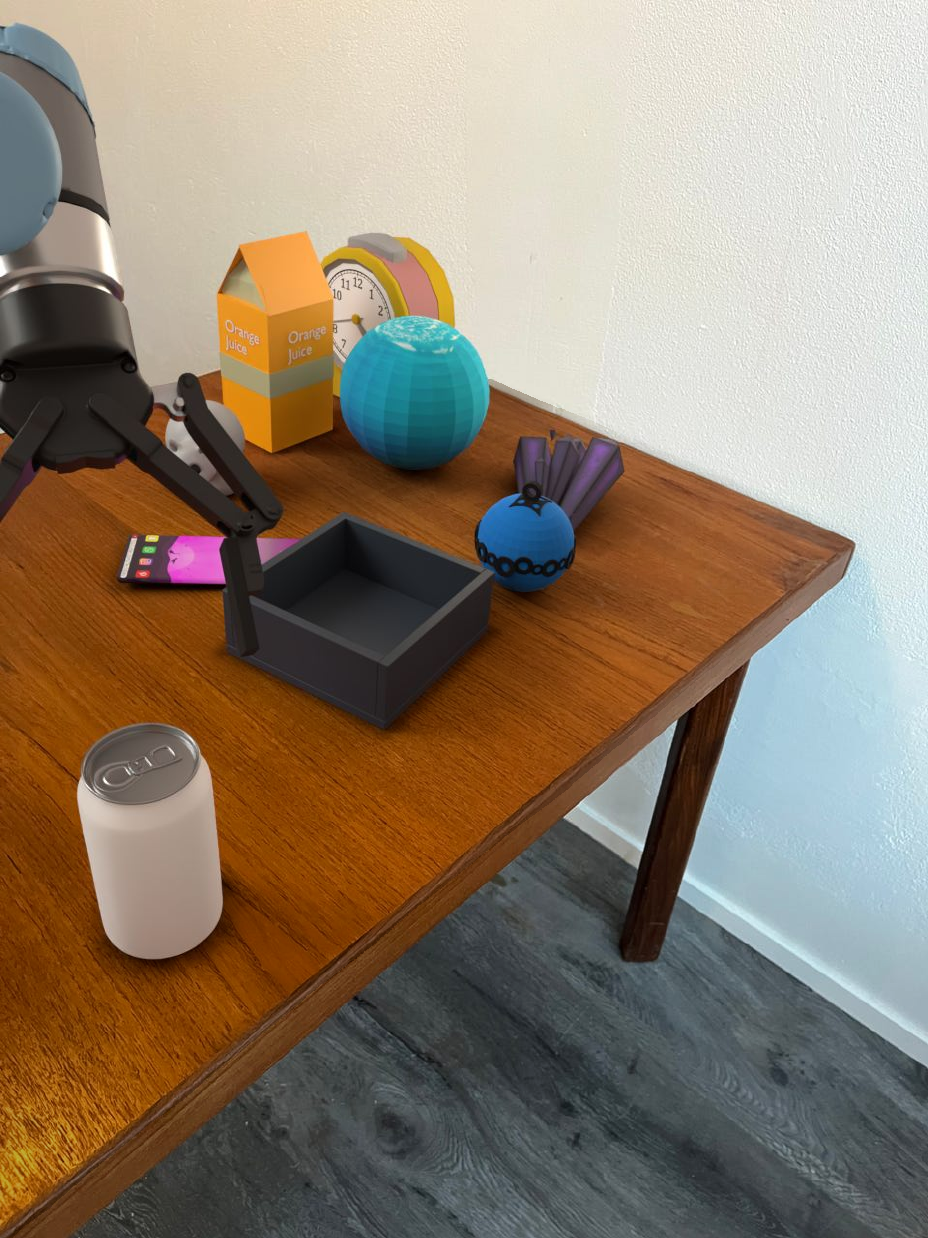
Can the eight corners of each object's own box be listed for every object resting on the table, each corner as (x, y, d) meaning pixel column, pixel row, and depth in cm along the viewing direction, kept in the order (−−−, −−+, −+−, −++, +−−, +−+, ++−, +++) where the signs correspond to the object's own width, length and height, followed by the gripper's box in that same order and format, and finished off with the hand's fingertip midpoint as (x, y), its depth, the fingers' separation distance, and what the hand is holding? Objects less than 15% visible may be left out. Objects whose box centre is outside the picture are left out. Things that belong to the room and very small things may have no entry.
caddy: (226, 652, 74) (221, 589, 71) (342, 569, 84) (343, 511, 81) (384, 730, 68) (387, 666, 65) (487, 631, 79) (495, 571, 76)
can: (84, 903, 55) (49, 749, 48) (190, 851, 59) (172, 700, 51) (135, 986, 51) (105, 831, 44) (245, 924, 55) (233, 772, 48)
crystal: (607, 502, 85) (638, 399, 100) (479, 487, 88) (528, 389, 103) (602, 568, 90) (633, 460, 104) (482, 552, 92) (528, 449, 107)
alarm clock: (307, 386, 115) (306, 223, 104) (357, 369, 120) (360, 213, 110) (399, 428, 108) (408, 259, 97) (448, 408, 113) (461, 246, 102)
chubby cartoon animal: (143, 525, 87) (133, 438, 82) (183, 464, 97) (175, 383, 92) (223, 533, 87) (217, 447, 82) (255, 471, 97) (251, 391, 92)
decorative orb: (313, 444, 103) (312, 303, 94) (433, 421, 110) (443, 287, 101) (383, 509, 93) (389, 358, 84) (510, 478, 101) (528, 337, 92)
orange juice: (223, 428, 104) (210, 234, 92) (286, 406, 110) (281, 221, 98) (272, 454, 100) (266, 255, 89) (334, 429, 106) (336, 240, 94)
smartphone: (131, 541, 85) (129, 532, 84) (305, 542, 87) (305, 534, 86) (117, 588, 79) (115, 579, 79) (304, 589, 81) (304, 580, 81)
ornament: (581, 575, 87) (599, 475, 81) (547, 624, 80) (564, 519, 75) (493, 547, 89) (505, 448, 84) (453, 592, 83) (463, 489, 77)
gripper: (266, 325, 63) (332, 644, 61) (-179, 351, 54) (-119, 727, 52) (285, 267, 56) (360, 625, 54) (-223, 286, 47) (-155, 717, 45)
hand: (125, 676), depth 53 cm, fingers open, 13 cm apart
